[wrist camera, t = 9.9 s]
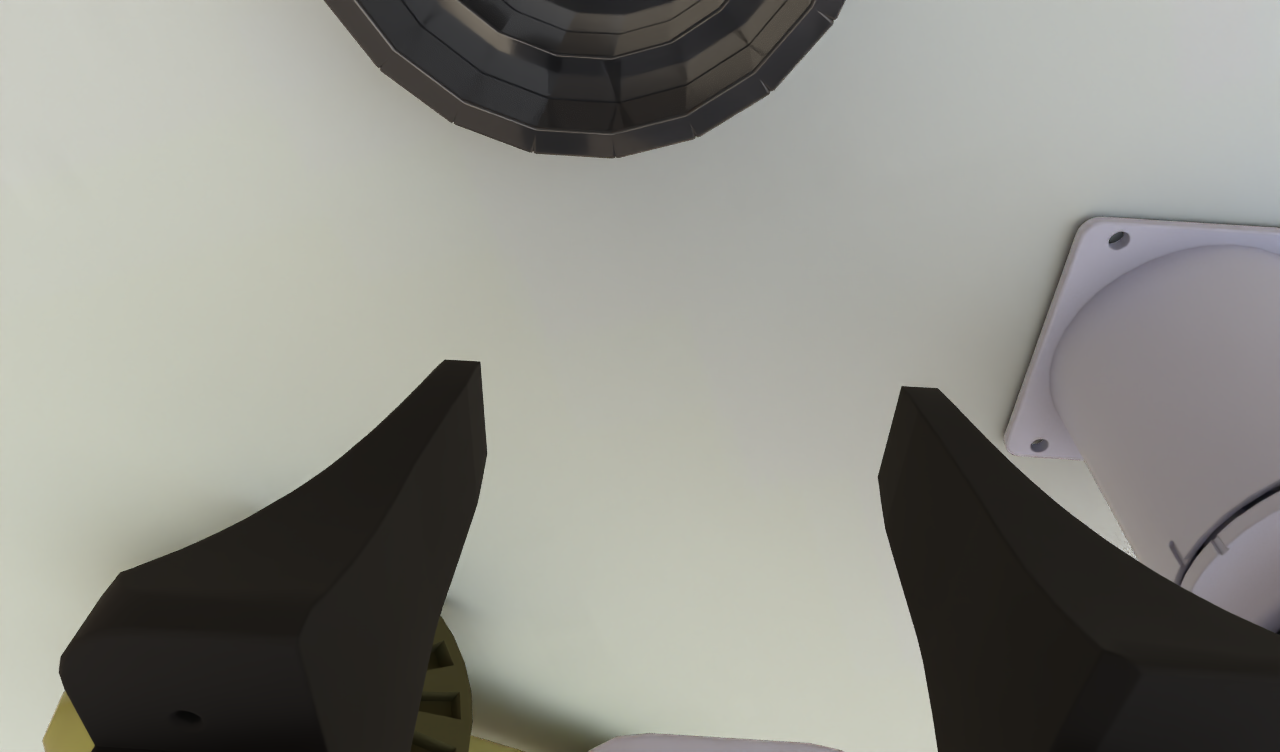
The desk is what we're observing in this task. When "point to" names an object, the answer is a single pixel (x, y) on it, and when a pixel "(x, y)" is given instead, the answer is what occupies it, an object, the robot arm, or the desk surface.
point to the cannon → (440, 724)
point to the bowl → (587, 64)
